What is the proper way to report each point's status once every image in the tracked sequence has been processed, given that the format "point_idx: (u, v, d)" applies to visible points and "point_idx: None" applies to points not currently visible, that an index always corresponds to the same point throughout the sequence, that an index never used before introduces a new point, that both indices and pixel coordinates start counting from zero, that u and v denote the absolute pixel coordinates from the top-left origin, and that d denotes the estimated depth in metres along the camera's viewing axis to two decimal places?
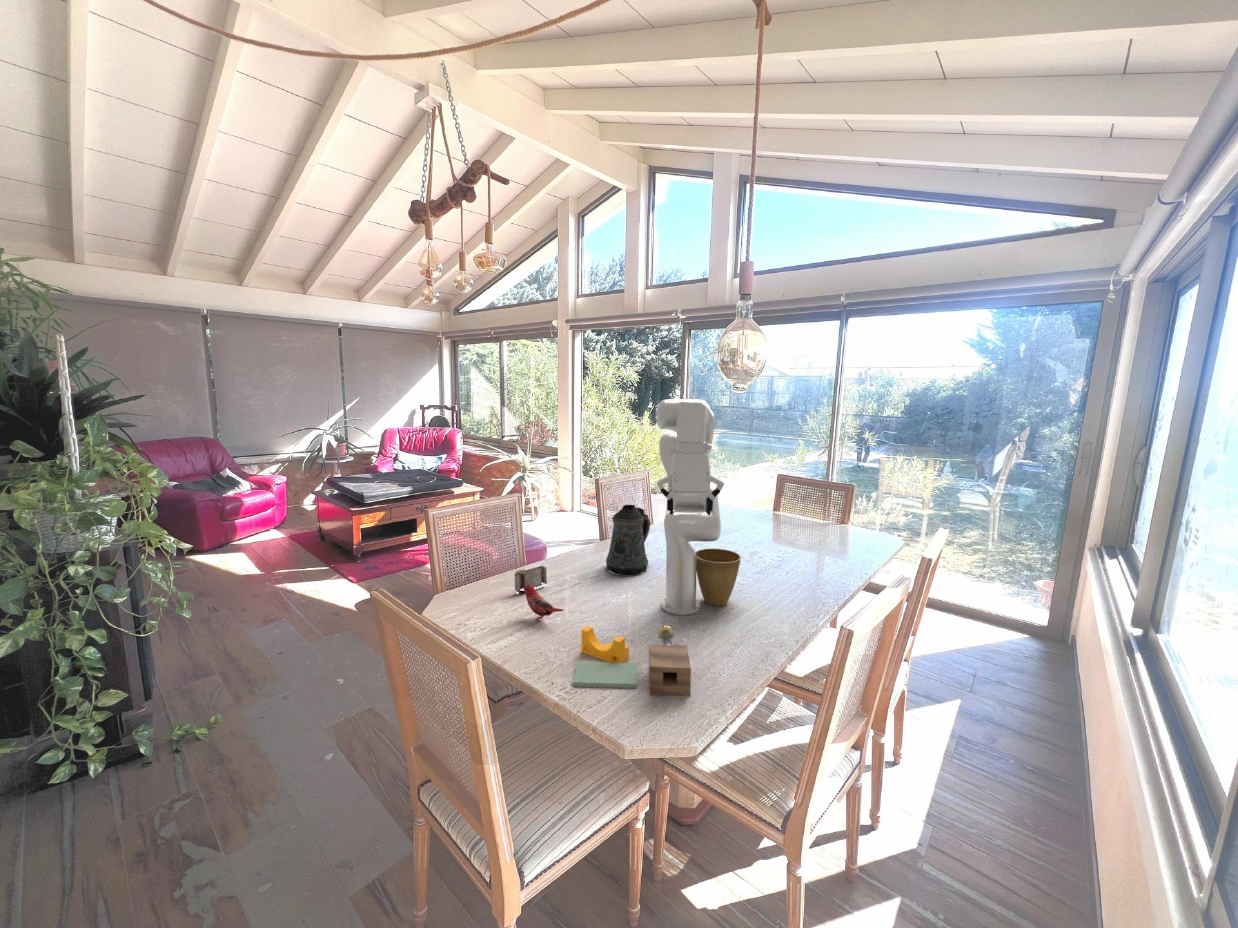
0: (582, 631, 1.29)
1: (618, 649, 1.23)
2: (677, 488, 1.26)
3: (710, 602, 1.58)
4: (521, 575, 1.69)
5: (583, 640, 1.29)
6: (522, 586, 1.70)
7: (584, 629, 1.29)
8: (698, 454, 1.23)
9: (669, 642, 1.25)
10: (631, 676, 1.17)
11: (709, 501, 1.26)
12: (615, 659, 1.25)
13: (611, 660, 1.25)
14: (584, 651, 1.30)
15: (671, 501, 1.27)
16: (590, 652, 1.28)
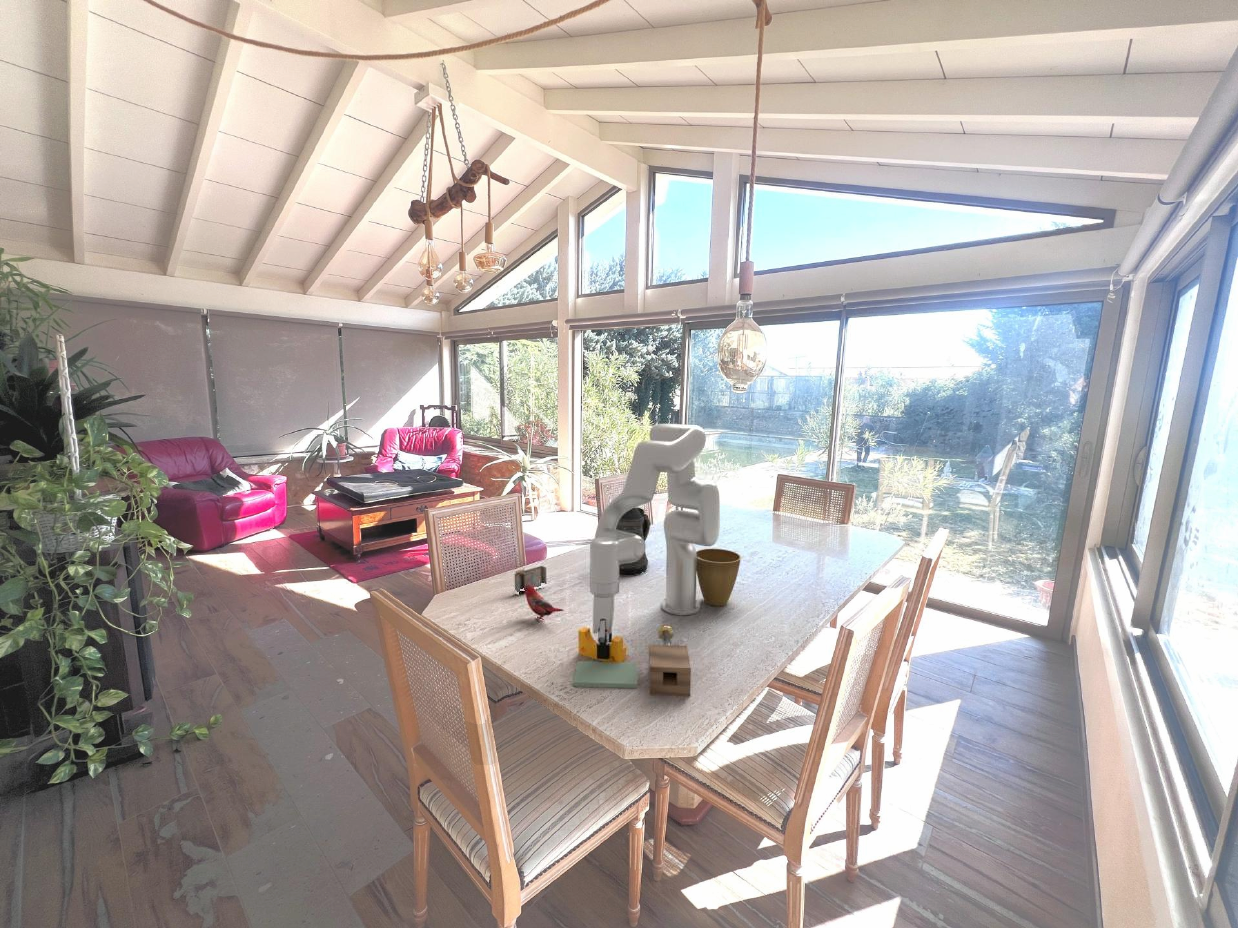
0: (579, 632, 1.28)
1: (616, 649, 1.23)
2: (611, 629, 1.24)
3: (710, 602, 1.58)
4: (521, 575, 1.69)
5: (580, 641, 1.28)
6: (522, 586, 1.70)
7: (581, 630, 1.29)
8: None
9: (669, 642, 1.25)
10: (631, 676, 1.17)
11: None
12: (613, 659, 1.25)
13: (609, 660, 1.25)
14: (581, 652, 1.29)
15: (609, 645, 1.24)
16: (587, 653, 1.28)
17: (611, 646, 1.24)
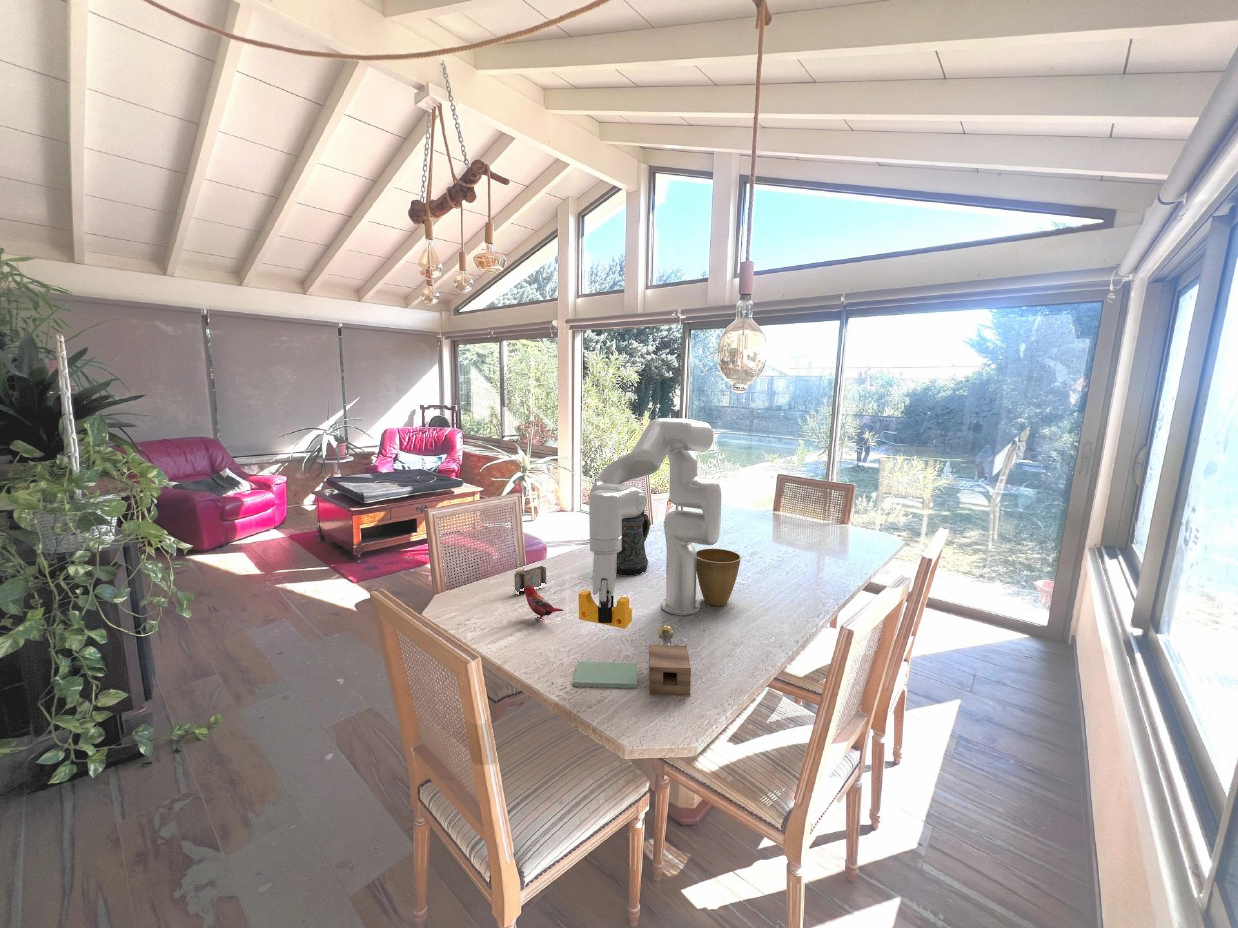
0: (579, 595, 1.17)
1: (623, 610, 1.13)
2: (613, 590, 1.12)
3: (710, 602, 1.58)
4: (521, 575, 1.69)
5: (581, 605, 1.17)
6: (522, 587, 1.70)
7: (581, 593, 1.17)
8: None
9: (669, 642, 1.25)
10: (631, 676, 1.17)
11: (613, 597, 1.19)
12: (619, 622, 1.14)
13: (615, 623, 1.14)
14: (582, 617, 1.17)
15: (611, 608, 1.13)
16: (589, 618, 1.17)
17: (617, 607, 1.13)
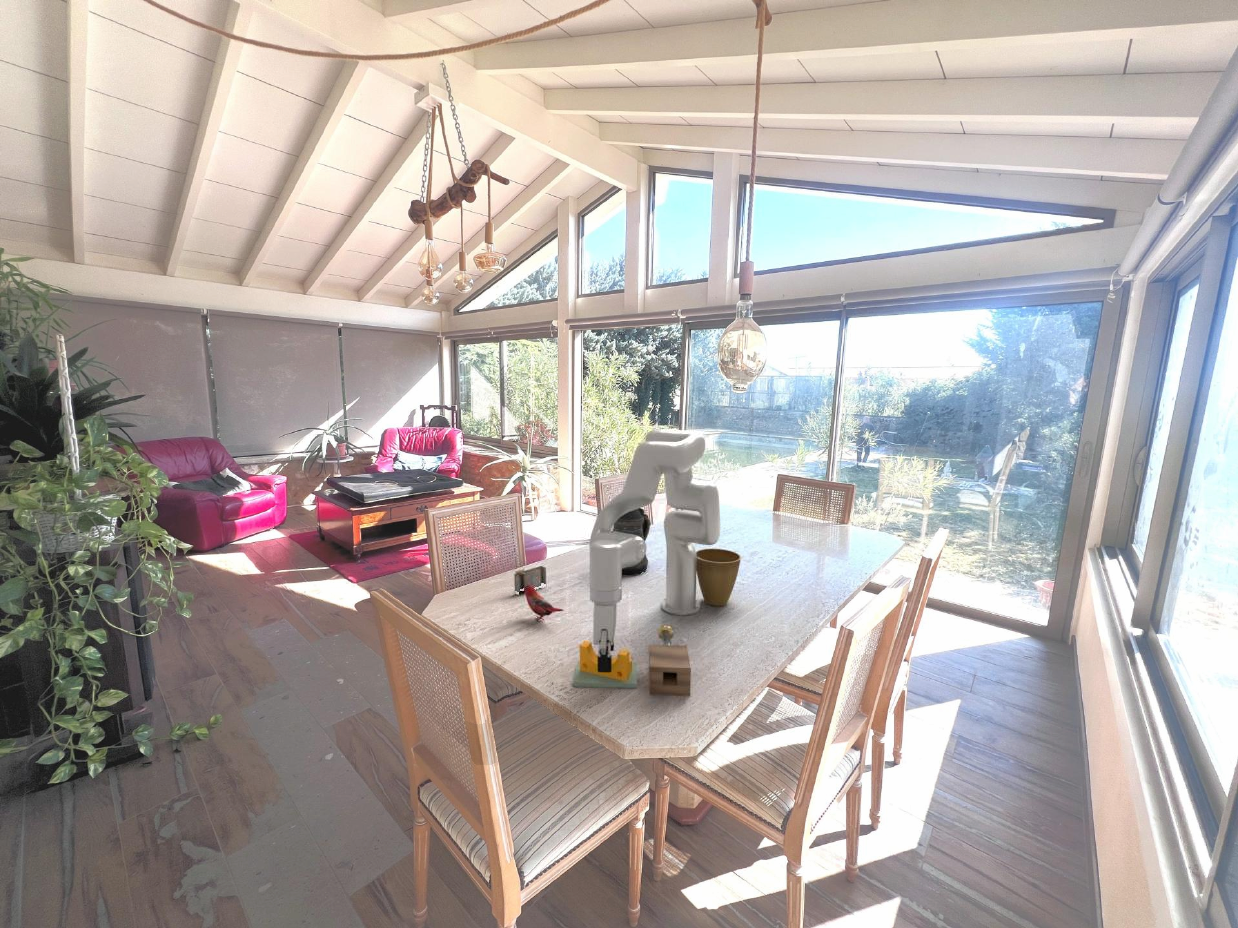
0: (580, 647, 1.19)
1: (624, 663, 1.14)
2: (613, 639, 1.14)
3: (710, 602, 1.58)
4: (521, 575, 1.69)
5: (582, 657, 1.19)
6: (522, 587, 1.69)
7: (582, 645, 1.19)
8: None
9: (669, 642, 1.25)
10: (631, 676, 1.17)
11: None
12: (619, 674, 1.16)
13: (615, 676, 1.16)
14: (583, 669, 1.19)
15: (611, 657, 1.13)
16: (590, 669, 1.18)
17: (618, 660, 1.15)
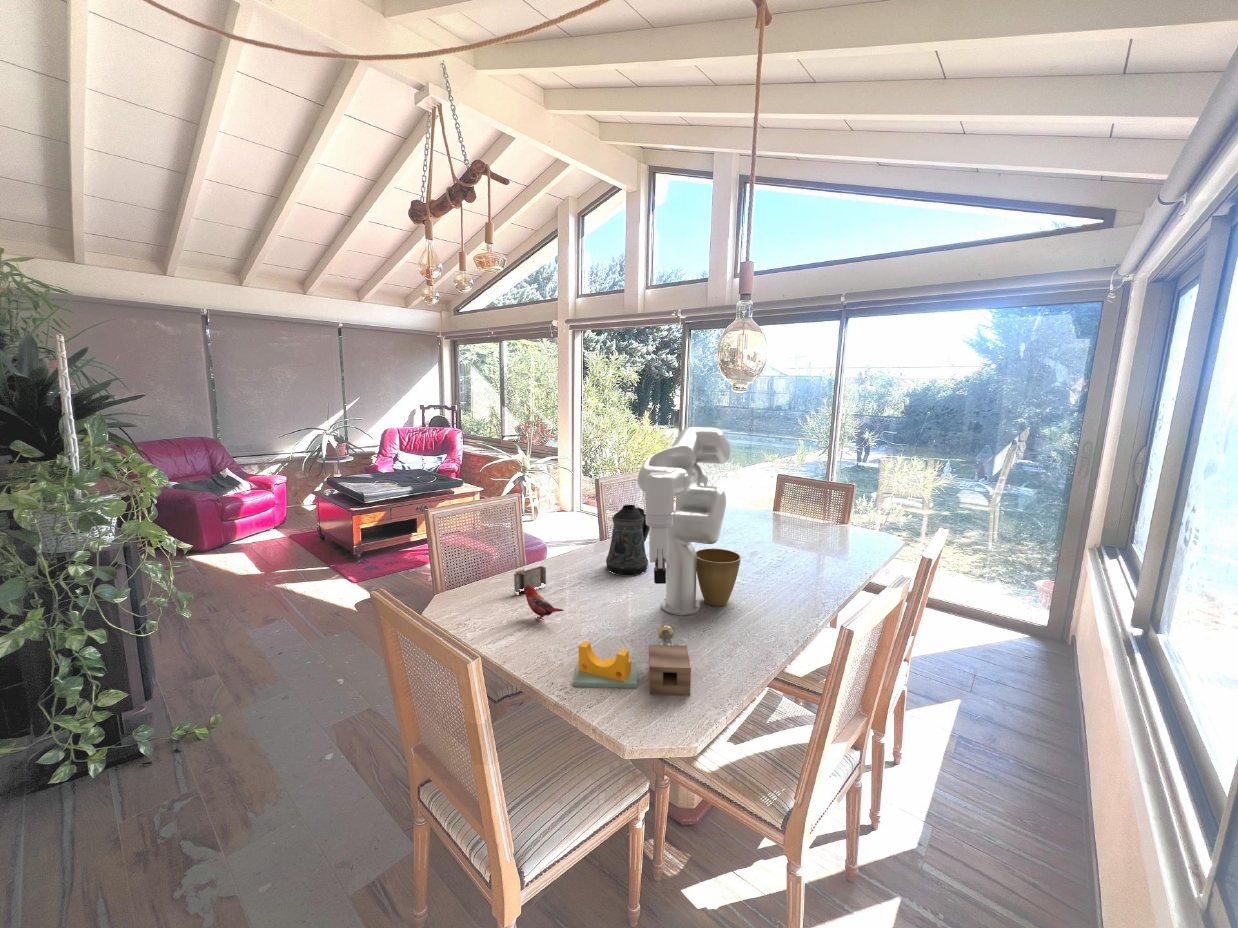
0: (579, 647, 1.18)
1: (623, 663, 1.14)
2: None
3: (710, 602, 1.58)
4: (521, 575, 1.69)
5: (581, 657, 1.19)
6: (522, 587, 1.69)
7: (581, 645, 1.19)
8: None
9: (669, 642, 1.25)
10: (631, 676, 1.17)
11: (665, 569, 1.35)
12: (618, 674, 1.16)
13: (614, 676, 1.16)
14: (582, 669, 1.19)
15: (665, 571, 1.34)
16: (589, 669, 1.18)
17: (617, 661, 1.15)
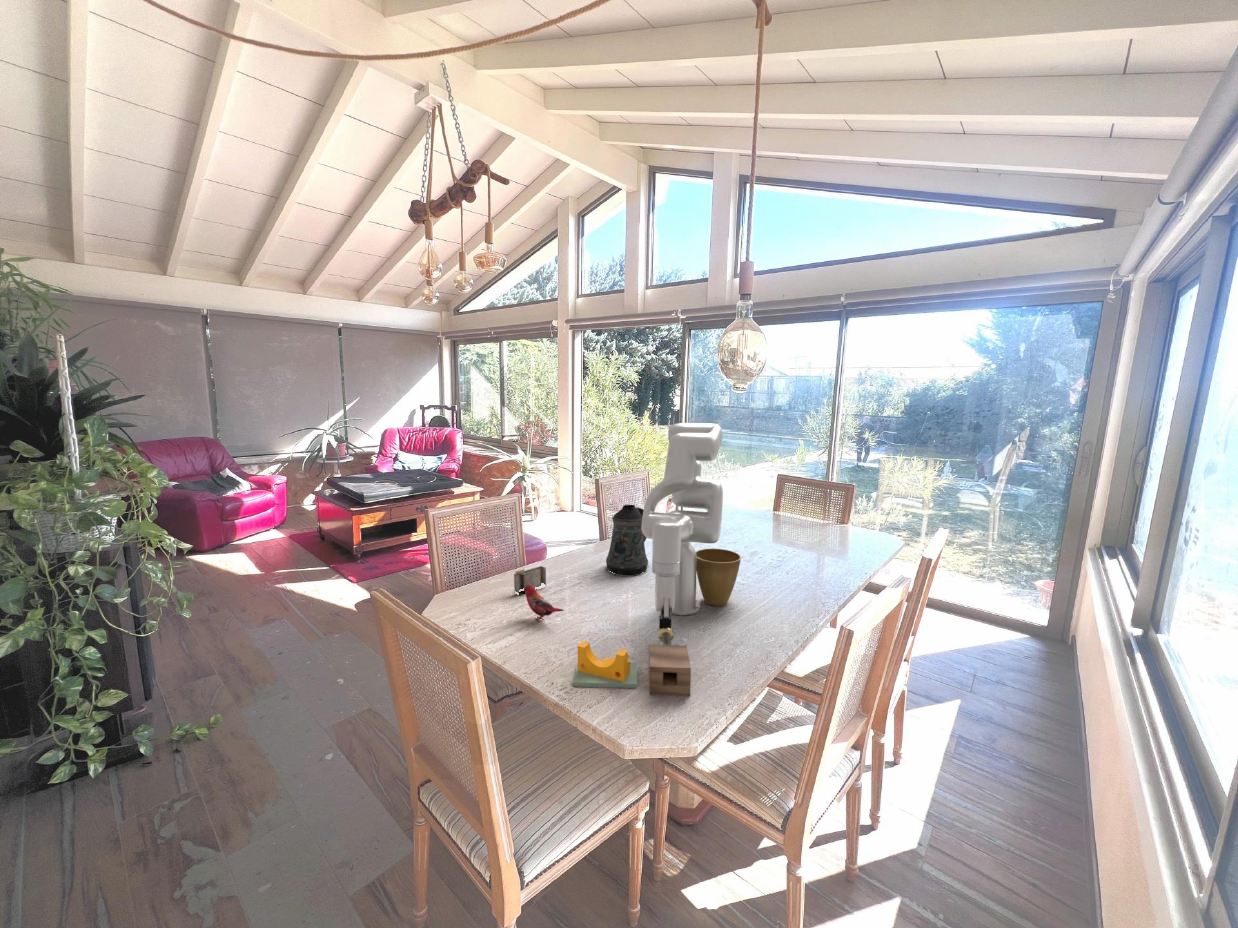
0: (578, 648, 1.18)
1: (622, 663, 1.14)
2: None
3: (710, 602, 1.58)
4: (520, 575, 1.69)
5: (580, 657, 1.18)
6: (522, 587, 1.69)
7: (580, 645, 1.19)
8: None
9: (669, 644, 1.24)
10: (631, 676, 1.17)
11: None
12: (618, 675, 1.16)
13: (614, 676, 1.16)
14: (581, 669, 1.19)
15: None
16: (588, 670, 1.18)
17: (616, 661, 1.15)
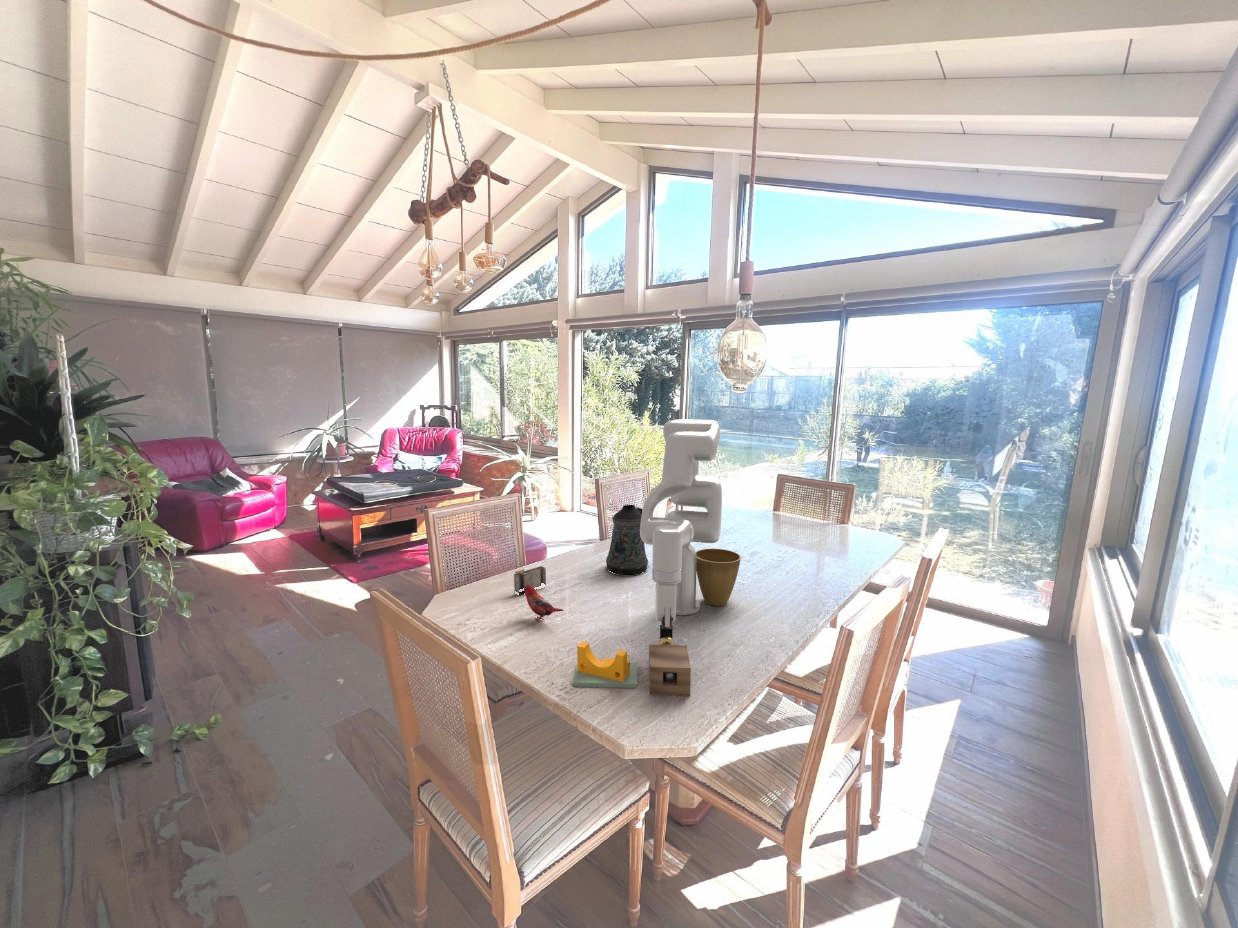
0: (578, 648, 1.18)
1: (621, 663, 1.14)
2: None
3: (710, 602, 1.58)
4: (520, 575, 1.69)
5: (579, 657, 1.18)
6: (521, 587, 1.69)
7: (580, 645, 1.19)
8: None
9: None
10: (631, 676, 1.17)
11: (672, 627, 1.28)
12: (617, 675, 1.16)
13: (613, 676, 1.15)
14: (580, 669, 1.19)
15: (672, 629, 1.27)
16: (588, 670, 1.18)
17: (615, 661, 1.15)
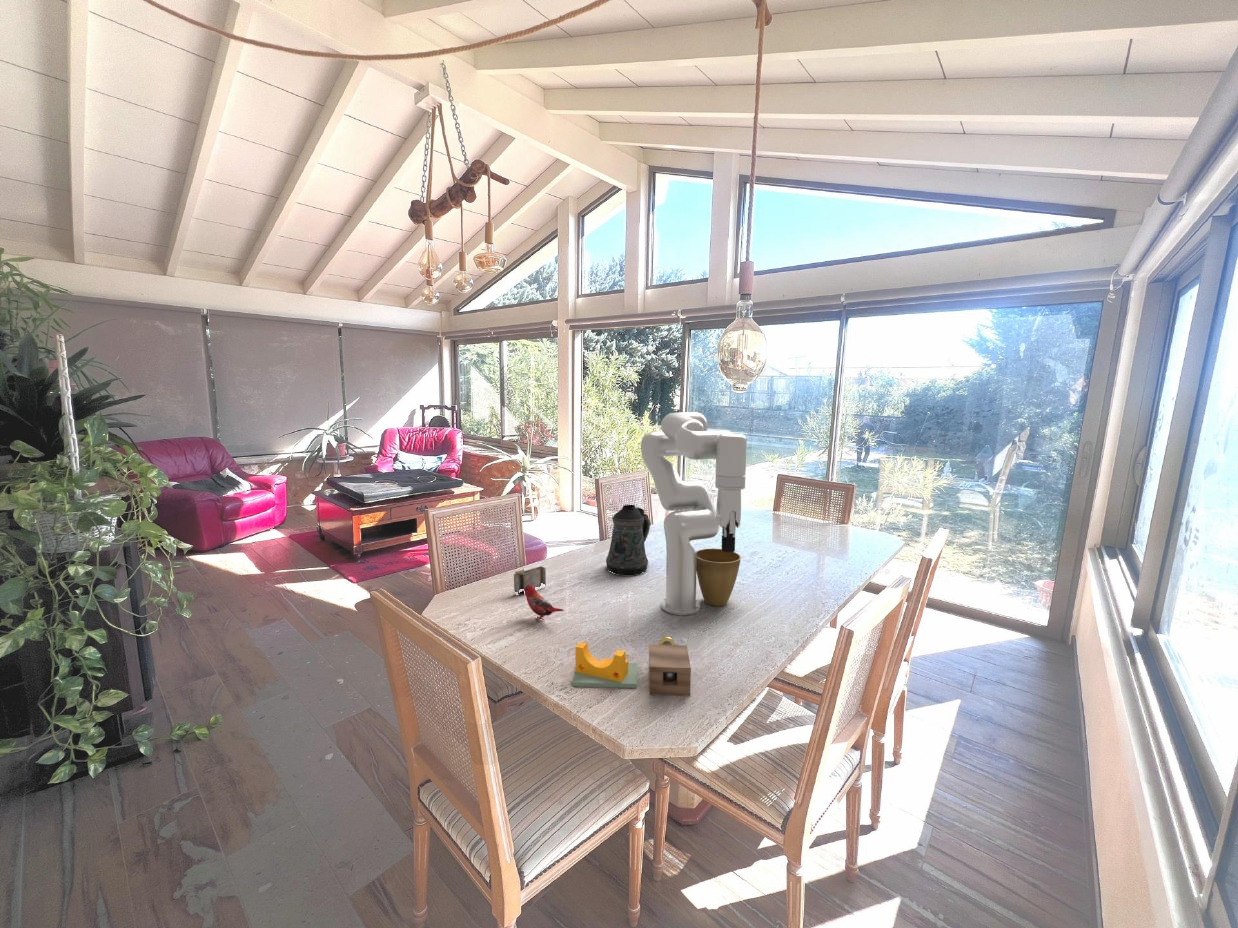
0: (576, 648, 1.18)
1: (620, 664, 1.14)
2: None
3: (710, 602, 1.58)
4: (520, 576, 1.68)
5: (578, 658, 1.18)
6: (521, 587, 1.69)
7: (578, 646, 1.18)
8: None
9: None
10: (631, 676, 1.17)
11: None
12: (616, 675, 1.16)
13: (612, 677, 1.15)
14: (579, 670, 1.19)
15: (734, 538, 1.27)
16: (586, 670, 1.18)
17: (614, 661, 1.15)
